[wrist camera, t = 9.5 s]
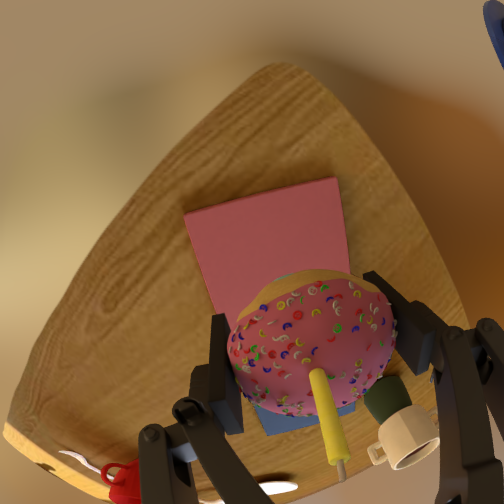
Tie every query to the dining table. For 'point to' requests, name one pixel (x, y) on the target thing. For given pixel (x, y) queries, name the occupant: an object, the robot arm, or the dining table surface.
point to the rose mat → (267, 240)
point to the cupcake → (313, 348)
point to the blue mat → (291, 420)
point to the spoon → (268, 487)
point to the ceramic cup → (124, 483)
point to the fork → (84, 462)
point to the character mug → (400, 424)
